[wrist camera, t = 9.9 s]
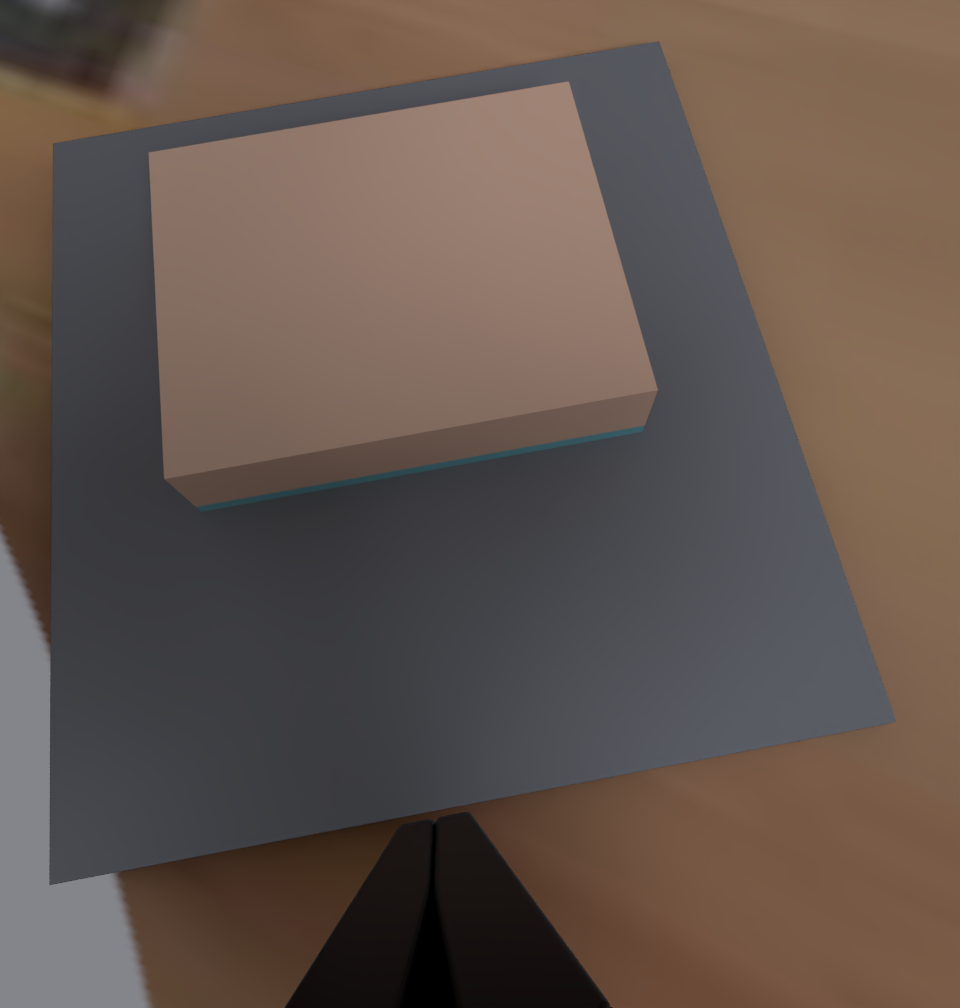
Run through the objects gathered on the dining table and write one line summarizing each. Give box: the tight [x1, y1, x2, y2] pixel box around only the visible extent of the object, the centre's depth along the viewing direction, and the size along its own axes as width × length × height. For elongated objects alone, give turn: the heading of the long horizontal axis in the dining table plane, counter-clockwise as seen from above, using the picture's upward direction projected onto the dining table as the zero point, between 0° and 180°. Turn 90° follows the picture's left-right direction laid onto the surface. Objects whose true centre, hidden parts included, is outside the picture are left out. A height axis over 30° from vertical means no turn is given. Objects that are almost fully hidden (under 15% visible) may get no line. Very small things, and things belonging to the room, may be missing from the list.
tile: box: [149, 81, 658, 512], centre depth 22 cm, size 2×12×10 cm
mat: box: [50, 42, 896, 885], centre depth 22 cm, size 22×20×1 cm
